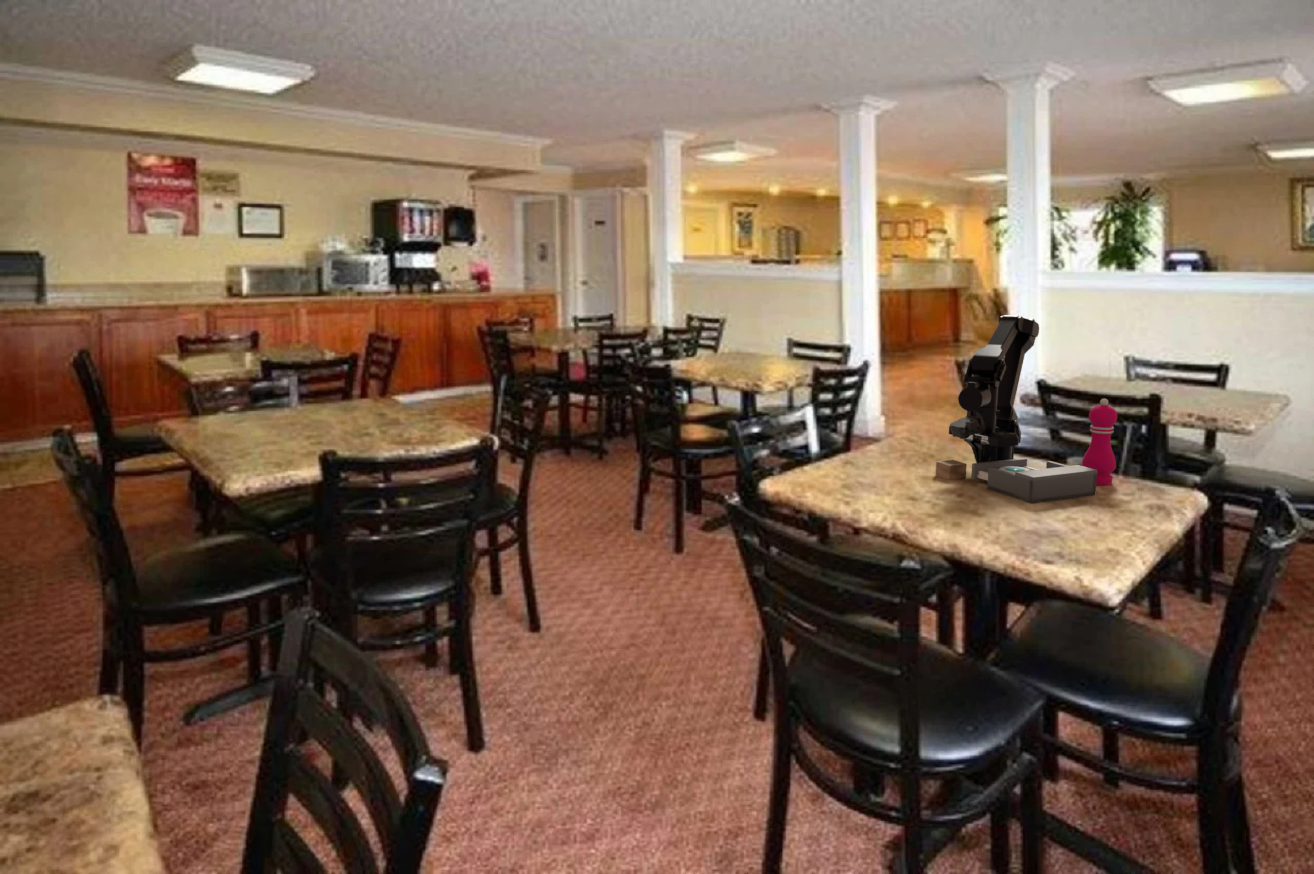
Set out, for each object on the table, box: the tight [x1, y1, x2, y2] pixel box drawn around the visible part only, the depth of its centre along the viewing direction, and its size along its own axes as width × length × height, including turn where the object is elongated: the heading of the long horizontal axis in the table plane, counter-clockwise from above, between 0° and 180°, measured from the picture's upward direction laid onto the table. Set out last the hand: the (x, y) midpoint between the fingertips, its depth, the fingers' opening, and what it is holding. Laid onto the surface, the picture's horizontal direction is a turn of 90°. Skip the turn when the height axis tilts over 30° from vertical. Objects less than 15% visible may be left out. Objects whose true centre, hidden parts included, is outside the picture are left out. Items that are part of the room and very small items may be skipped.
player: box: [986, 460, 1097, 504], centre depth 208 cm, size 18×14×6 cm
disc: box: [999, 466, 1030, 474], centre depth 216 cm, size 7×7×2 cm
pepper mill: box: [1081, 398, 1118, 486], centre depth 215 cm, size 7×7×20 cm
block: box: [935, 459, 967, 481], centre depth 224 cm, size 5×5×4 cm
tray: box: [971, 457, 1038, 482], centre depth 215 cm, size 16×14×3 cm
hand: (980, 468), depth 226 cm, fingers closed
